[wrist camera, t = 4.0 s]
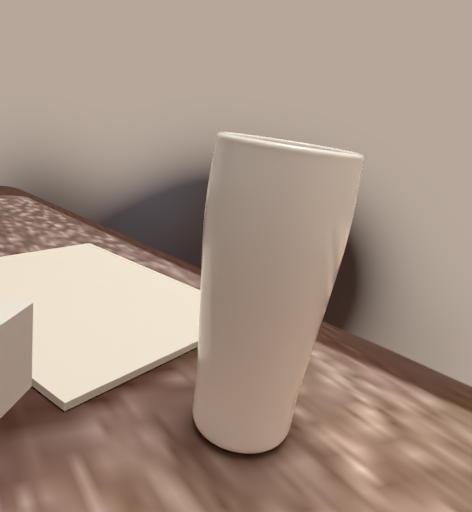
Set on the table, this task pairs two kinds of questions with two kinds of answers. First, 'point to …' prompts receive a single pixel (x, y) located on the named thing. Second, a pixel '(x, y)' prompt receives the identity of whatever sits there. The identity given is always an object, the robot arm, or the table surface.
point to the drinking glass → (266, 280)
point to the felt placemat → (97, 319)
